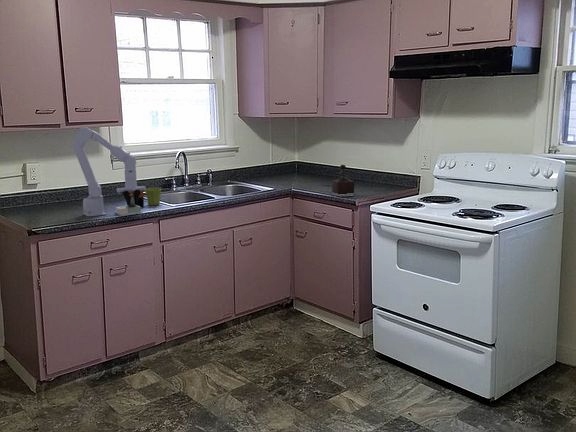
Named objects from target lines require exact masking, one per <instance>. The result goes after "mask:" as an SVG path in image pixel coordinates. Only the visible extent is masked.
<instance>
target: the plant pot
mask: <svg viewBox="0 0 576 432" xmlns="http://www.w3.org/2000/svg"><path fill="white" fill-rule="evenodd" d="M162 190H163V189H162V188H160V187H149V188H145V190H144V191H145V195H146V199H147V205H149V206H155V205H156V206H158V205H159V206H160V202H161V201H160V200H161V193H162Z"/></svg>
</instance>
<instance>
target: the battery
mask: <svg viewBox="0 0 576 432" xmlns="http://www.w3.org/2000/svg"><path fill="white" fill-rule="evenodd" d="M140 191H141V193H140V195H139V198H138V201H137V206H140V207H141V208H142V209H143V208H144V207H145V204H144V203H145V201H144V190H140ZM129 193H130V194H133V191H129Z"/></svg>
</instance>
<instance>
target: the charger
mask: <svg viewBox="0 0 576 432" xmlns="http://www.w3.org/2000/svg"><path fill="white" fill-rule="evenodd" d="M114 213H115V214H117V215H119V216H125V215H126V216H127V215H136V214H143V211H142V209H141V207H140V206H137V205H135V207H131V208H129V206H128V205H123V206H115V211H114Z"/></svg>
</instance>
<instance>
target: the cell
mask: <svg viewBox="0 0 576 432" xmlns="http://www.w3.org/2000/svg"><path fill="white" fill-rule="evenodd" d="M131 207H135V195H133V194H130V206H129V208H131Z"/></svg>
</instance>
